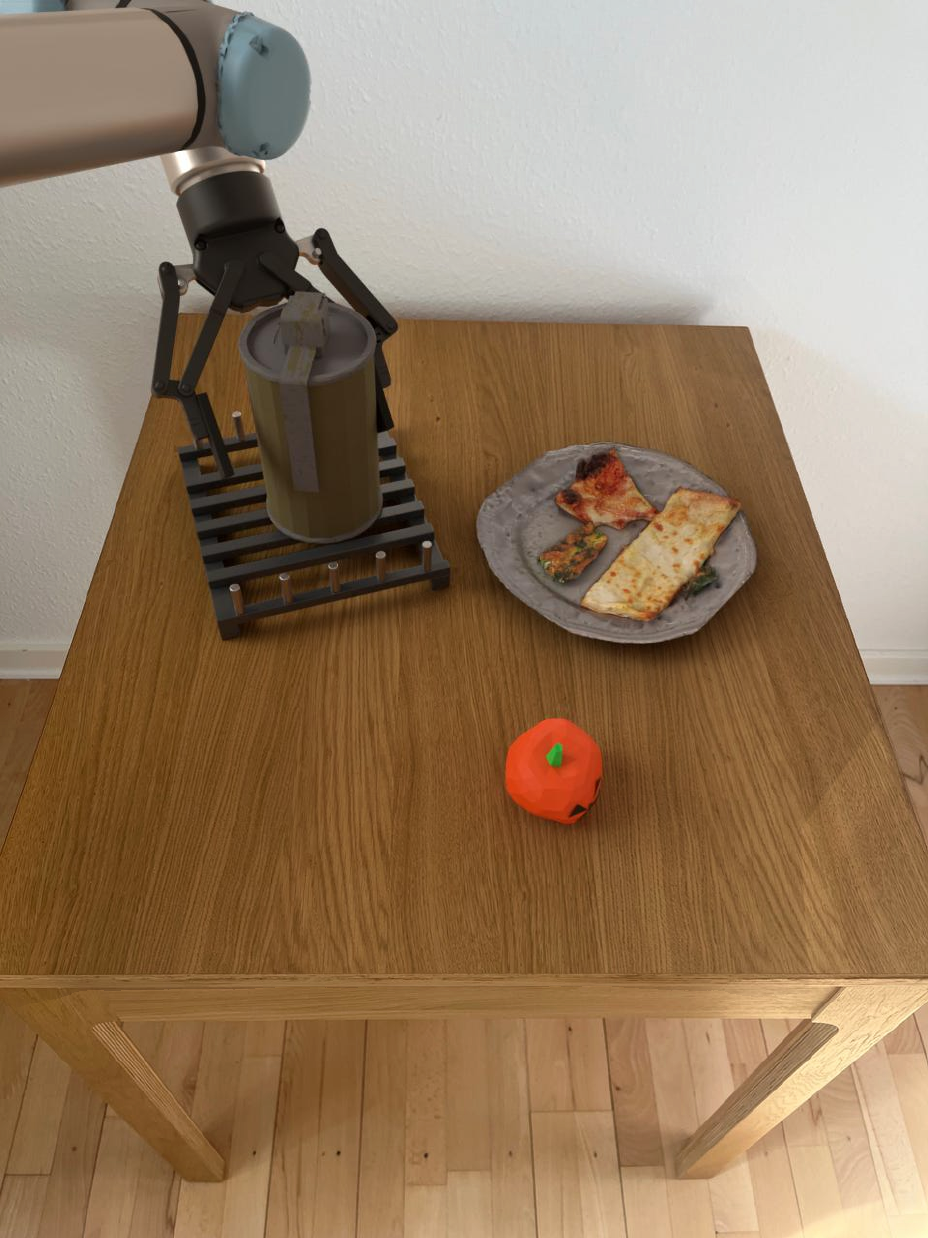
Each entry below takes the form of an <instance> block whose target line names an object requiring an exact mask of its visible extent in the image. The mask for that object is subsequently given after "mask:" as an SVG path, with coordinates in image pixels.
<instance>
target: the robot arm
mask: <svg viewBox="0 0 928 1238" xmlns="http://www.w3.org/2000/svg"><path fill="white" fill-rule="evenodd" d="M311 85H312V73H311V67H310V63H309V61H308V57H307V55H306V53H305V50H304V48H303V46H302V45H301V43H300V42H299V41H298V39H297V38H296V37H295V36H294V35H293V34H292V33H291V32H289V31H288V30H287V29H285V28H283V27H281V26H279V25H277V24H274V23H272V22H270V21H267V20H266V19H263V18H261V17H259V16H257V15H255V14H254V13H253V12H252V11H245V10H244V11H243V12H242V11H238V10H234V9H231V8H229V7H224V6H222V5H219V4H214V1H213V0H0V189H3V188H8V187H13V186H18V185H22V184H23V185H24V184H27V183H32V182H38V181H42V180H47V179H51V178H57V177H61V176H62V177H63V176H66V175H71V174H76V173H81V172H86V171H90V170H95V169H100V168H105V167H111V166H115V165H119V164H124V163H131V162H134V161H139V160H145V159H150V158H155V157H158V156H159V158H160V161H161V164H162V167H163V170H164V172H165V176H166V180H167V183H168V186H169V187H170V188H169V189H170V191H171V193H172V194H173V195H175V196H176V197H178V198H177V201H176V209H177V212H178V215H179V218H180V221H181V224H182V227H183V230H184V233H185V235H186V240H187V242H188V245H189V248H190V250H191V255H192V263H187V264H176V265H174V264H173V263H171V262H170V261H162V262H161V263H159V266H158V268H157V269H158V270H157V276H156V277H157V279H156V280H157V284H158V288H159V292H160V297H161V301H162V302H161V303H162V304H161V309H160V317H159V326H158V332H157V340H156V347H155V354H154V363H153V370H152V378H151V385H150V393H151V395H152V396H153V398H155V399H159V400H160V399H161V400H162V399H169V400H175V401H176V402H178V404H179V405H180V406H181V409H182V412H183V414H184V417H185V420H186V423H187V426H188V429H189V432H190V435H191V437H192V436H193V438H194V439H195V440H196V441H198V440H202V441H203V440H205V439H207V442H209V444H210V447H211V450H212V453H213V458H214V461H215V465H216V467H217V471H219V473H220V476H221V479H226V478H229V477H232V476H233V475H234V474H235V473H234V470H233V469H234V467H233V465H232V462H231V459H230V455H229V453H227V450H226V447H225V444H224V441H223V439H224V438H223V435H222V433H221V430H220V427H219V424H218V421H217V417H216V416H215V413H214V410H213V406H212V404H211V401H210V397H209V395H208V392H207V391H205V392H202V393H196V388H197V385H198V384H199V381H200V379H201V376H202V373H203V370H204V369H205V366H206V363H207V361H208V359H209V356H210V353H211V351H212V349H213V346H214V344H215V343H216V342H215V341H216V339H217V338H218V334H219V331H220V330H221V327H222V325H223V322H224V319H225V317H226V314H227V312H228V310H231V311H234V312H237V313H240V315H242V314H245V313H249V312H251V311H254V310H255V309H257V308H272V307H275V306H278V305H279V304H280V302H282V301H283V300H284V299H285V300H286V301H288V300H289V297H290V296H294V295H295V291H300V292H315V293H322V292H321V291H320V290H319V289H317V288H316V287H315V286H314V285H313V283H312V282H311V281H310V280H309V279H307V278H306V277H305V276H303V275H302V274H301V273H299V272H297V271H296V269H297V265H298V262H299V259H300V257H302V258H305V259H306V260H307V262H308V263H309V264H310V265H312V266H317V267H318V269H319V271H320V272H321V274H322V275H323V276H324V277H325V278H326V279H327V281H328V282H329V283H330V284H331V285H332V286H333V287H334V289H335V290H336V291H337V292H338V293H339V294H340V296H341V297H342V298H343V299H344V300H345V301H346V302H347V303H348V304H349V306H350V307H351V309H353V310H354V311H356V312H358V313H359V314H361V315H362V316H363V317H365V318H366V319H367V320H368V321H369V322H370V324H371V326H372V327H373V329H374V331H375V335H376V347H375V352H374V368H375V390H376V412H377V432H378V433H382V432H385V431H387V432H388V431H389V430H392V429H395V427H396V426H395V423H394V420H393V417H392V413H391V409H390V406H389V404H388V401H387V398H386V394H385V390H384V389H387V388H389V387H390V386H392V376H391V374H390V371H389V367H388V364H387V361H386V358H385V355H384V350H383V344H384V343H385V341H387V340H388V339H389V338H391V337H392V336H393V335H395V334H396V333H397V332H398V330H399V323H398V322H397V320H396V319H395V318H394V317H393V316H392V314H391V313H390V312H389V311H388V310H387V309H386V307H385V306H384V305H383V304H382V303H381V302H380V301H379V299H378V298H377V297H376V296H375V295H374V294H373V292H371V290H370V289H369V288H368V287H367V285H365V283H364V282H363V281H362V280H361V278H359V277H358V275H357V274H356V273H355V272H354V271H353V270H352V268H351V267H350V266H349V265H348V264H347V263H346V261H345V260H344V259H343V258H342V257H341V255H340V254H339V253H338V251H337V249H336V247H335V244H334V241H333V238H332V236H331V234H330V233H329V231H328V229H326V228H324V227H319V228H317V229H316V230H315V232H314V233H313V234H312V235H309V236H306V237H303V238H300V239H298V240H294V239H293V237H292V236H290V234H289V232H288V230H287V229H286V225H285V222H284V221H285V220H284V218H283V216H282V212H281V209H280V206H279V202H278V199H277V197H276V194H275V191H274V187H273V184H272V181H271V179H270V178H269V177H268V176H267V175H265V174H264V173H265V170H266V166H267V165H266V161H272V160H276V159H278V158H280V157H282V156H284V155H285V154H286V153H287V152H289V151H290V149H292V148H293V147H294V146H295V144H296V143H297V142H298V140H299V139H300V137H301V135H302V133H303V131H304V129H305V127H306V124H307V121H308V118H309V113H310V109H311V93H312V91H311V87H312V86H311ZM193 281H195V283H197V284H198V285H199V286H200V287H201V288H203V289H204V290H205V291H207V293H209V294H210V295H211V296H213V300H212V302H211V304H210V308H209V310H208V312H207V314H206V317H205V319H204V322H203V324H202V327H201V329H200V332H199V334H198V337H197V339H196V342H195V344H194V346H193V349H192V351H191V354H190V356H189V359H188V362H187V364H186V365H185V369H184V371H183V373H182V375H181V377H180V380H178V379H170V378H171V372H172V365H173V357H174V349H175V341H176V334H177V328H178V327H177V326H178V318H179V312H180V302H181V297H183V296H185V295H186V294H187V293H188V291H189V290H188V289H189V284H190V283H191V282H193ZM326 298H327V300H328V302H331V303H336V302H335V301H334V300H332V299H331V298H330V297H328V296H327V295H326ZM193 438H192V439H193Z"/></svg>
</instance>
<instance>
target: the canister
mask: <svg viewBox="0 0 928 1238" xmlns="http://www.w3.org/2000/svg"><path fill="white" fill-rule="evenodd" d="M326 296H327V295H326V292H321V293H315V292H300V291H295V295H294V296H290V297H289V300H287V302H283V303H282V304H278V305H275V306H272V307H269V308H267V309H265V310H263V311H261V312H260V313H258V314H256V315H255V316H254V317H253V318H251V319H250V320H249V321H248V322H247V323H246V325H244V327H243V328H242V329H241V331H240V334H239V338H238V341H237V345H238V352H239V355H240V358H241V360H242V362H243V365H244V371H245V376H246V383H247V389H248V394H249V401H250V406H251V412H252V418H253V423H254V429H255V430H254V431H255V433H256V435H257V441H258V447H257V448H258V454H259V457H260V458H259V459H260V463H261V464H262V470H263V476H264V479H263V481H264V485H265V487H266V493H267V500H266V504H265V505H266V508H267V512H268V515H269V517H270V520H271V521H272V522H273V523H274V524H273V525H274V526H275V527H276V529H277V530H280V531H281V532H283V533H284V534H285V535H287V536H289V537H291V538H294V539H296V540H300V541H304V542H303V543H308V544H318V545H323V544H336V543H341V542H345V541H348V540H350V539H353V538H355V537H358V536H360V535H361V534H362V533H364V532H366V531H367V530H368V529H370V528H369V527H370V526H371V525H372V524H373V523H374V521H375V520H376V519H377V517H378V516H379V515H380V513H381V509H382V508H383V503H384V501H383V496H382V491H381V488H380V485H381V481H380V479H381V478H380V477H379V456H378V434H377V412H376V390H375V368H374V352H375V347H376V335H375V331H374V329H373V327H372V326H371V324H370V322H369V321H368V320H367V319H366V318H365V317H363V316H362V315H361V314H359V313H358V312H356V311H355V310H354V309H353V308H350V307H348V306H345V305H343V304H340V303H337V302H335V303H331V302H328V300H327V298H326Z"/></svg>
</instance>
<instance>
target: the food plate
mask: <svg viewBox="0 0 928 1238" xmlns="http://www.w3.org/2000/svg"><path fill="white" fill-rule="evenodd" d="M742 503H743V502H742V501H741V499H739V498H737V497H735V496H734V497H731V496H730V495H729V493H728V492H727V491H726V489H725V488H724V487H723V486H722V485H721V484H720V483H717V482H716V481H715V480H714V479H713V478H712V477H710V476H709V475H708V474H705V473H704V472H702V471H701V470H699V469H698V468H697V467H695V466H694V465H692V464H691V463H690V462H688V461H687V460H684V459H682V458H679V457H676V456H675V455H672V454H669V453H668V452H664V451H662V450H658V449H654V448H649V447H645V446H639V445H633V444H629V443H623V442H618V441H610V440H603V441H594V442H593V441H592V442H588V443H586V444H578V443H577V444H570V445H568V446H564V447H562V448H559V449H554V450H547V451H545V452H544V453H542V454H541V455H539V456H537V458H535V459H534V460H532V461H531V462H530V463H529V464H527V465H526V466H525V467H523V468H522V469H521V470H520V471H518V472H516V473H515V474H514V475H513V476H511V477H510V478H509V479H508V480H506V481H505V482H503V483H502V485H500V486H499V487H498V488H496V490H495V492H494V491H493V492H491V494H489V495H488V496H487V497H485V499H484V501H483V502H482V504H481V506H480V508H479V510H478V515H477V517H476V524H475V525H476V526H475V527H476V533H477V536H476V538H477V540H478V544H479V546H480V548H481V549H482V550H483V552H484V556H485V557H486V561H487V564H488V567H489V568H490V570H491V571H492V572H493V575H495V576H496V577H497V579H498V580H499V582H500V583H502V584H503V586H505V589H507V590H508V591H509V592H510V593H511V594H512V595H513V596H515V598H518V599H519V600H520V601H521V602H522V603H524V604H525V605H527V607H529V608H530V609H532V610H534V611H535V612H537V613H538V614H539V616H543V617H544V618H546V619H547V620H549V621H550V622H552V623H555V625H557V626H559V627H560V628H562V629H563V630H565V631H566V632H568V633H572V634H574V635H577V636H582V637H585V638H590V639H597V640H600V641H606V642H608V641H609V642H613V643H620V644H628V643H629V644H634V645H635V644H636V645H639V644H641V645H642V644H643V645H644V644H652V643H653V644H655V643H661V642H663V643H664V642H665V641H671V640H674V639H679V638H681V637H685V636H689V635H694V634H695V633H698V632H700V630H701V629H702V628H703V627H704V626H705V625H706V624H708V622H709V621H710V620H711V619H712V618H713V617H714V616H715V615H716V614H717V612H718V611H720V610H721V609H722V608H723V607H724V606H725V605H726V603H727V602H729V600H730V599H731V598H732V597H733V596H734V595H735V594H736V592H738V591H739V590H740V588H741V587H742V586H743V585H744V584H746V582H747V581H748V580H749V579H750V578H751V577H752V576H753V575H754V574H755V571H756V567H757V566H758V565H757V564H758V552H757V551H758V550H757V544H756V542H755V540H754V537H753V533H752V532H751V529H750V526H749V521H748V517H747V514H746V513H744V510H743V509H742Z"/></svg>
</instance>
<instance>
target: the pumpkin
mask: <svg viewBox="0 0 928 1238" xmlns="http://www.w3.org/2000/svg"><path fill="white" fill-rule="evenodd" d="M602 778H603V758H602V750H601V749H600V747H599V746H598V744H597V743H596V742H595V740H594V739H593V738H592V737H591V736H590V735H589V734H588V733H587V732H586V731H585V730H583V729H582V728H580V727H579V726H578V725H576V724H575V723H574V722H572V721H571V720H570V719H566V718H563V717H561V718H560V717H558V718H557V717H555V718H554V717H553V718H552V717H550V718H546V719H544V720H543V719H542V720H541V721H539V722H538V723H537V724H536V725H534V726H533V727H531V728H530V729H528V730H527V731H525V732H523V734H520V735H519V736H518V737H517V738H515V740H514V741H513V743H512V744H511V745H510V746H509V748H508V752H507V755H506V759H505V787H506V788H505V789H506V791H507V794H508V795H509V796H510V797H511V799H512V800H513V801H514V802H515V803H516V804H517V805H518V806H519V807H521V808H522V809H524V810H525V811H526V812H528V813H529V814H531V815H533V816H534V817H538V818H542V819H546V820H549V821H555V822H558V823H560V824H564V825H569V824H575V823H576V822H578V821H580V820H581V819H582V818H583V817H584V816H585V815H586V813H588V812H589V811H590V809H591V808H592V807H593V805H594V804H595V803H596V802H597V800H598V799H599V796H600V794H601V792H602V790H600V788H601V783H602Z"/></svg>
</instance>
